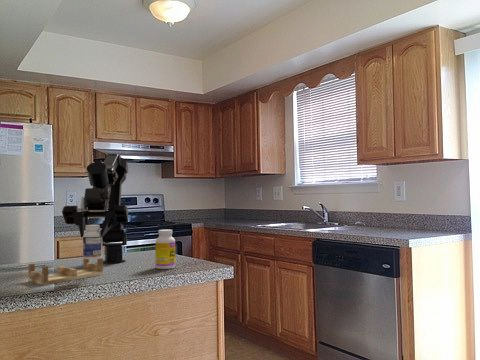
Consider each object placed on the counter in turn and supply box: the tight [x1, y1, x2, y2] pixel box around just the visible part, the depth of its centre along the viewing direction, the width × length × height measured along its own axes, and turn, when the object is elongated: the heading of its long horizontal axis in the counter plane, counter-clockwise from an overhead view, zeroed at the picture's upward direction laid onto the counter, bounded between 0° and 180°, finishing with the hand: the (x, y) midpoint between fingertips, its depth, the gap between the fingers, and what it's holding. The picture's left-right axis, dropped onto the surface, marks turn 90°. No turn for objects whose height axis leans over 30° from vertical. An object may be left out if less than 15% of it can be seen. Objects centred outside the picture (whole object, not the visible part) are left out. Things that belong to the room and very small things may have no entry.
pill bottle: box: [82, 224, 103, 260], centre depth 125 cm, size 5×5×10 cm
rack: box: [28, 257, 104, 286], centre depth 130 cm, size 9×19×5 cm, turn 142°
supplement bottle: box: [155, 229, 176, 270], centre depth 145 cm, size 7×7×13 cm
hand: (91, 236), depth 124 cm, fingers closed on pill bottle, 5 cm apart
